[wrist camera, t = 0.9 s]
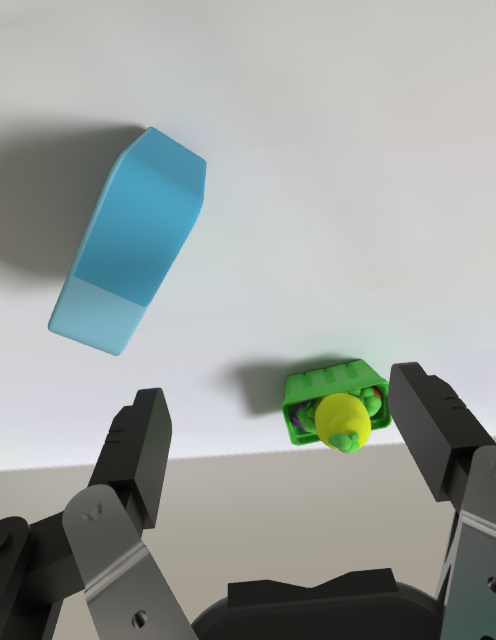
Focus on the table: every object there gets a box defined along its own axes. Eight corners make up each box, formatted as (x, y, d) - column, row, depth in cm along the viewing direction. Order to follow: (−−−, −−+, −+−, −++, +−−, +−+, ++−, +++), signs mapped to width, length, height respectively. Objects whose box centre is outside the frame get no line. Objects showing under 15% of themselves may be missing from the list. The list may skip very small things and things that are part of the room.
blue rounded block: (144, 277, 33) (114, 367, 23) (95, 254, 31) (40, 340, 21) (208, 157, 27) (204, 207, 17) (152, 122, 26) (114, 155, 16)
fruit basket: (285, 413, 45) (303, 501, 36) (271, 363, 40) (288, 451, 31) (375, 393, 44) (417, 478, 35) (372, 339, 39) (421, 422, 30)
